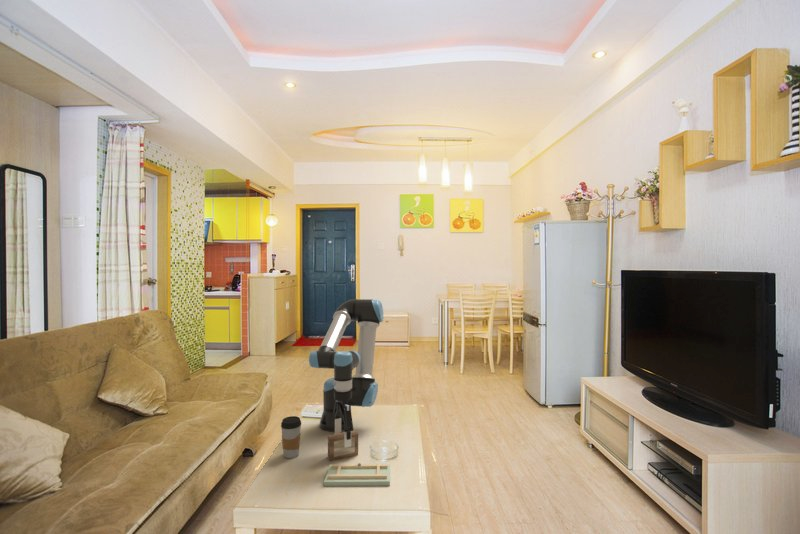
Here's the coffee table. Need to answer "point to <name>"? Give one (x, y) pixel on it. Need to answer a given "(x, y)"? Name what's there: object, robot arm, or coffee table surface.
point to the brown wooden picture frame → (342, 446)
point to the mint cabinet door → (357, 475)
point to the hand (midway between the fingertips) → (342, 440)
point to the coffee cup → (291, 436)
